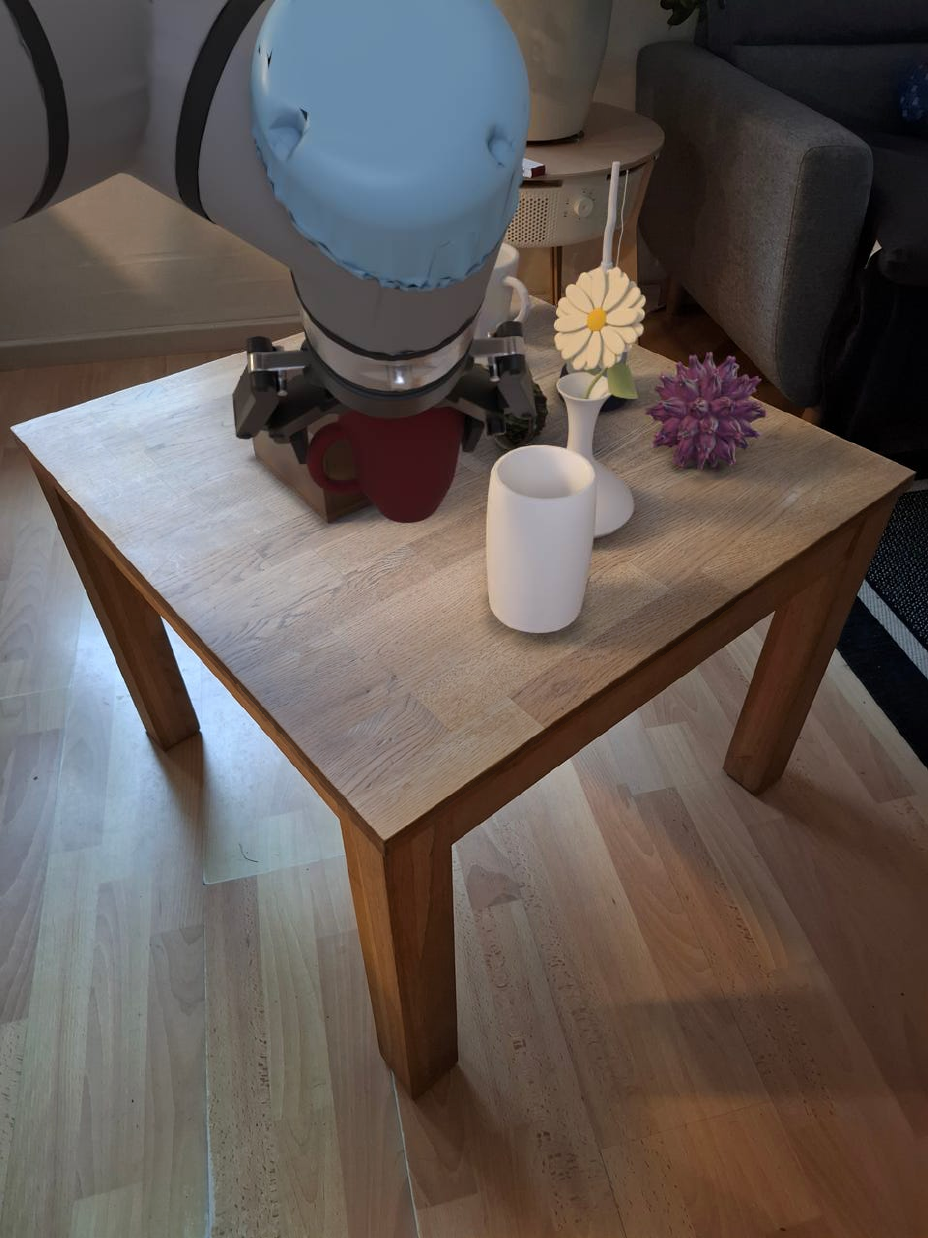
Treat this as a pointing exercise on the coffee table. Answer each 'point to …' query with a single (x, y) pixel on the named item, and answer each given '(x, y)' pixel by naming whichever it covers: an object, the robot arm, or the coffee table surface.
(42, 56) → the robot arm
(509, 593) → the cup
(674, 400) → the flower
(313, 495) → the cabinet
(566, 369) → the humidifier
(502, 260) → the mug
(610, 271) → the flower in vase
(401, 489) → the mug
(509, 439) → the seashell
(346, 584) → the coffee table surface
